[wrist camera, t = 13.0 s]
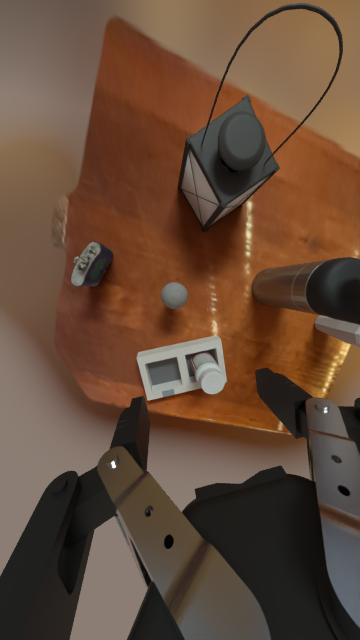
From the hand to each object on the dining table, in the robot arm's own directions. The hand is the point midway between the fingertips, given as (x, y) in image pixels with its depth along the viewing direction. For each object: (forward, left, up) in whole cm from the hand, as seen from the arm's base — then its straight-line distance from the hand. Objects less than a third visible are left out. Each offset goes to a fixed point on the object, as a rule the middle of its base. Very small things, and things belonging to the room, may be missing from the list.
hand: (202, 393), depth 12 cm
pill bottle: (-5, +14, -33) cm, 36 cm away
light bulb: (-1, -5, -33) cm, 34 cm away
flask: (+14, -14, -33) cm, 39 cm away
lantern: (-14, -25, -33) cm, 44 cm away
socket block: (0, +14, -33) cm, 36 cm away
